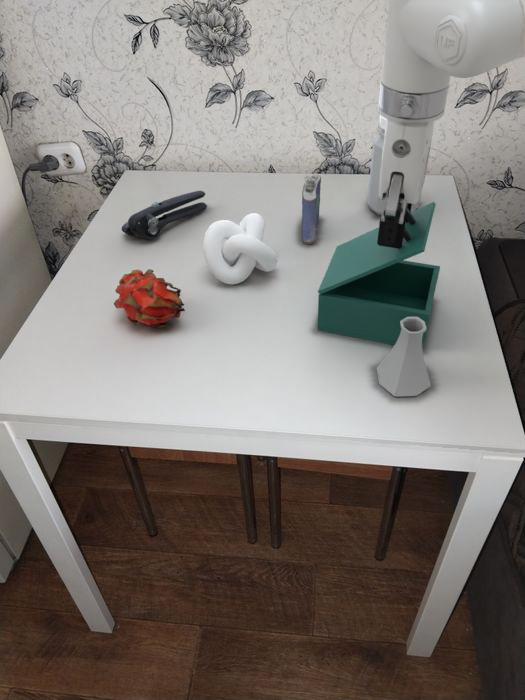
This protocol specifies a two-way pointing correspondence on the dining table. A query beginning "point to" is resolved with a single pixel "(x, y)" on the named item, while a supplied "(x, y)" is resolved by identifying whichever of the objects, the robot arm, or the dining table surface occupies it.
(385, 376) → the flask
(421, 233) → the lunchbox lid
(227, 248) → the white decorative knot
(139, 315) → the dragon fruit
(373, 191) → the jar
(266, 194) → the dining table surface
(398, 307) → the box
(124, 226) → the can opener
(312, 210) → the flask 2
